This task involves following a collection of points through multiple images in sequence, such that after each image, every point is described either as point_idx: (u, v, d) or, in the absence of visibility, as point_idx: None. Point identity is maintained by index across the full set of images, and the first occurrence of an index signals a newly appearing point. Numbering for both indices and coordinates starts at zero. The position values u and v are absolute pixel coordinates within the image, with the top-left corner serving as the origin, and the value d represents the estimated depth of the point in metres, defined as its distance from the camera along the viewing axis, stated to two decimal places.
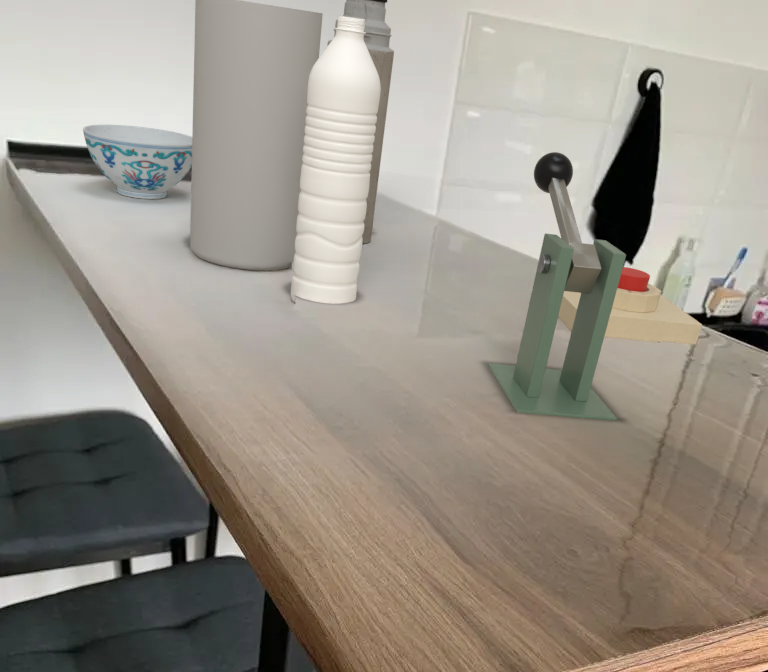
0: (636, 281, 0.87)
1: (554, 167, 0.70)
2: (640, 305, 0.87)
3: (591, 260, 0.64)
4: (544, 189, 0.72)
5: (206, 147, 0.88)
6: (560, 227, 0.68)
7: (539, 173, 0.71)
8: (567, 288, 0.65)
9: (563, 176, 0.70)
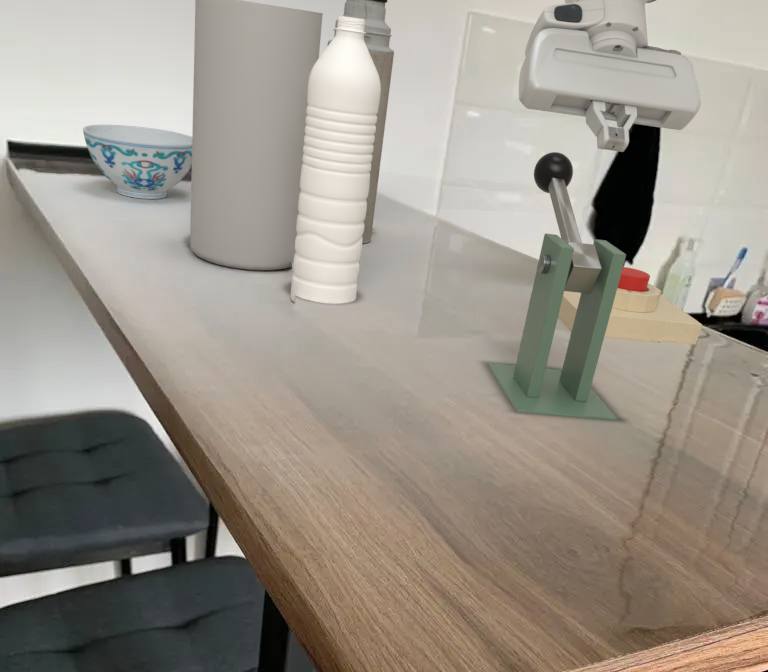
0: (636, 281, 0.87)
1: (554, 167, 0.70)
2: (640, 305, 0.87)
3: (591, 260, 0.64)
4: (544, 189, 0.72)
5: (206, 147, 0.88)
6: (560, 227, 0.68)
7: (539, 173, 0.71)
8: (567, 288, 0.65)
9: (563, 176, 0.70)
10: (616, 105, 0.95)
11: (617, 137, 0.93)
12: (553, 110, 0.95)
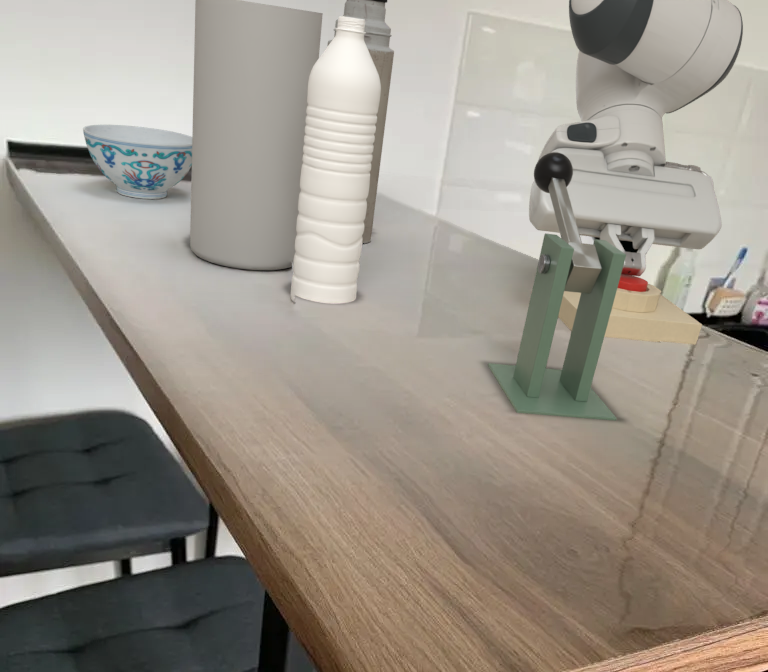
0: (634, 288, 0.87)
1: (554, 167, 0.70)
2: (640, 305, 0.87)
3: (591, 260, 0.64)
4: (544, 189, 0.72)
5: (206, 147, 0.88)
6: (560, 227, 0.68)
7: (539, 173, 0.71)
8: (567, 288, 0.65)
9: (563, 176, 0.70)
10: (633, 227, 0.89)
11: (633, 263, 0.88)
12: None
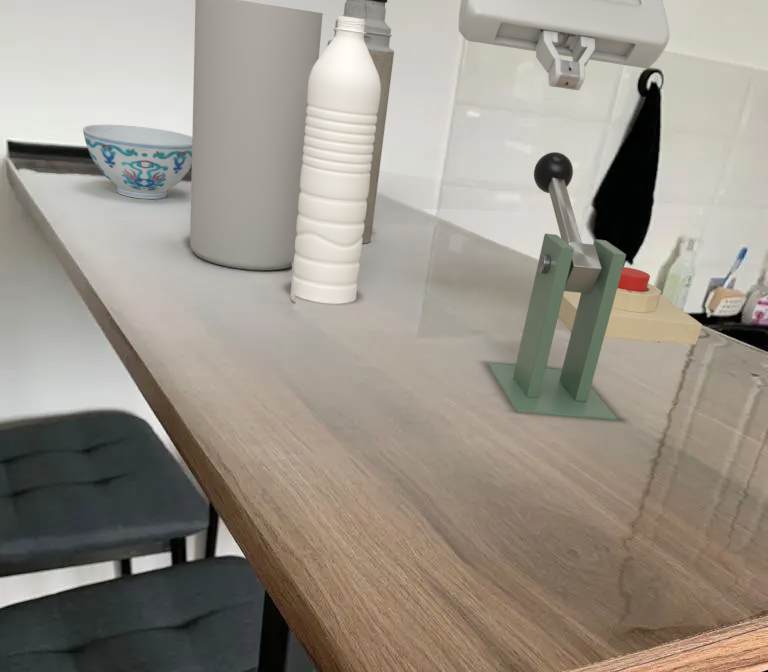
0: (636, 281, 0.87)
1: (554, 167, 0.70)
2: (640, 305, 0.87)
3: (591, 260, 0.64)
4: (544, 189, 0.72)
5: (206, 147, 0.88)
6: (560, 227, 0.68)
7: (539, 173, 0.71)
8: (567, 288, 0.65)
9: (563, 176, 0.70)
10: (571, 36, 0.82)
11: (571, 72, 0.80)
12: (498, 43, 0.82)
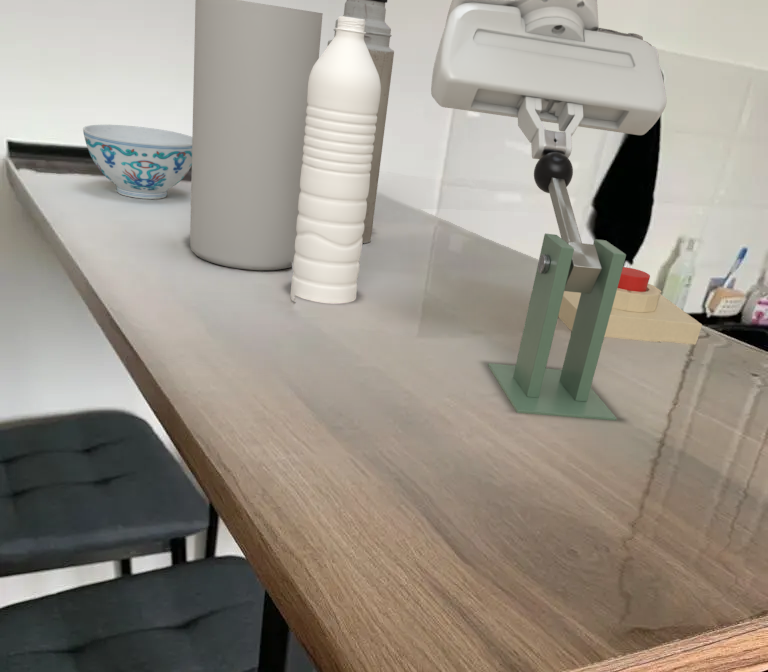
0: (636, 281, 0.87)
1: (554, 167, 0.70)
2: (640, 305, 0.87)
3: (591, 260, 0.64)
4: (544, 189, 0.72)
5: (206, 147, 0.88)
6: (560, 227, 0.68)
7: (539, 173, 0.71)
8: (567, 288, 0.65)
9: (563, 176, 0.70)
10: (557, 103, 0.73)
11: (556, 144, 0.72)
12: (475, 109, 0.74)
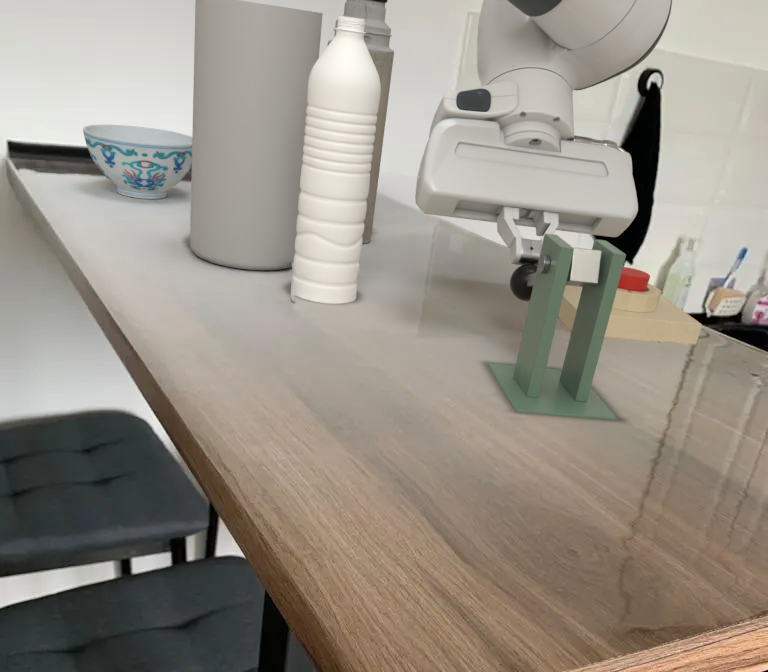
0: (636, 281, 0.87)
1: (528, 268, 0.75)
2: (640, 305, 0.87)
3: None
4: (524, 290, 0.75)
5: (206, 147, 0.88)
6: None
7: (515, 277, 0.76)
8: (573, 277, 0.64)
9: None
10: (534, 210, 0.77)
11: (533, 252, 0.76)
12: (457, 216, 0.78)
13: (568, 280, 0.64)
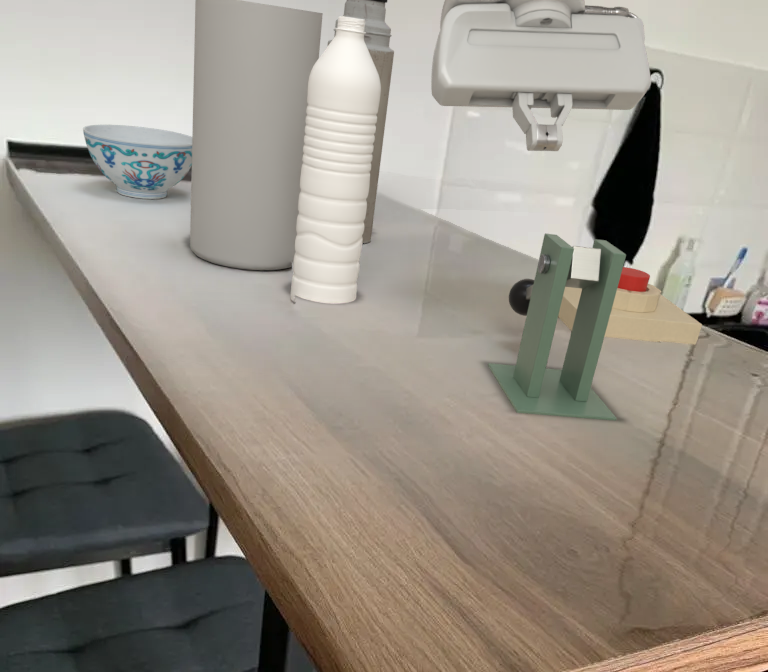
0: (636, 281, 0.87)
1: (526, 281, 0.76)
2: (640, 305, 0.87)
3: None
4: (523, 304, 0.76)
5: (206, 147, 0.88)
6: None
7: (514, 291, 0.76)
8: (574, 274, 0.63)
9: None
10: (548, 93, 0.79)
11: (548, 137, 0.79)
12: (473, 105, 0.80)
13: (569, 278, 0.64)
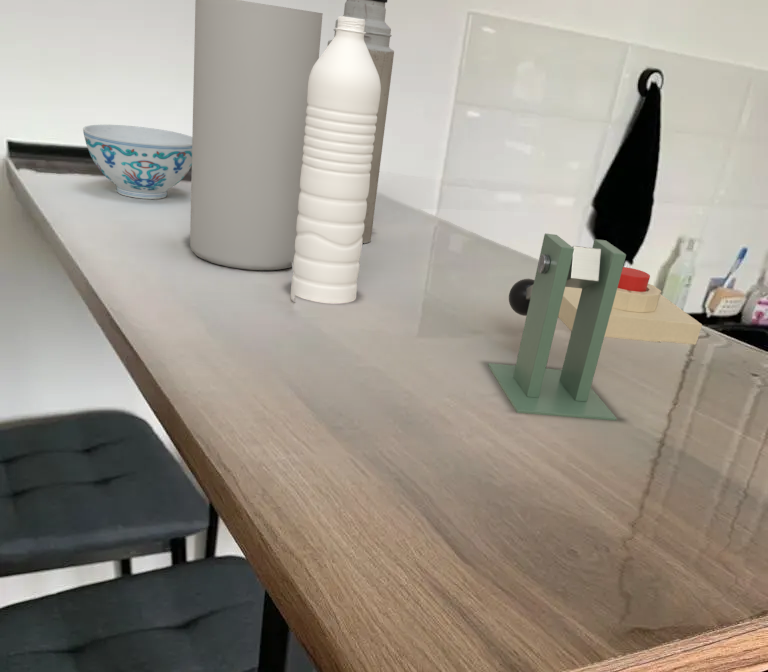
0: (636, 281, 0.87)
1: (526, 281, 0.76)
2: (640, 305, 0.87)
3: None
4: (523, 304, 0.76)
5: (206, 147, 0.88)
6: None
7: (514, 291, 0.76)
8: (574, 274, 0.63)
9: None
10: None
11: None
12: None
13: (569, 278, 0.64)
